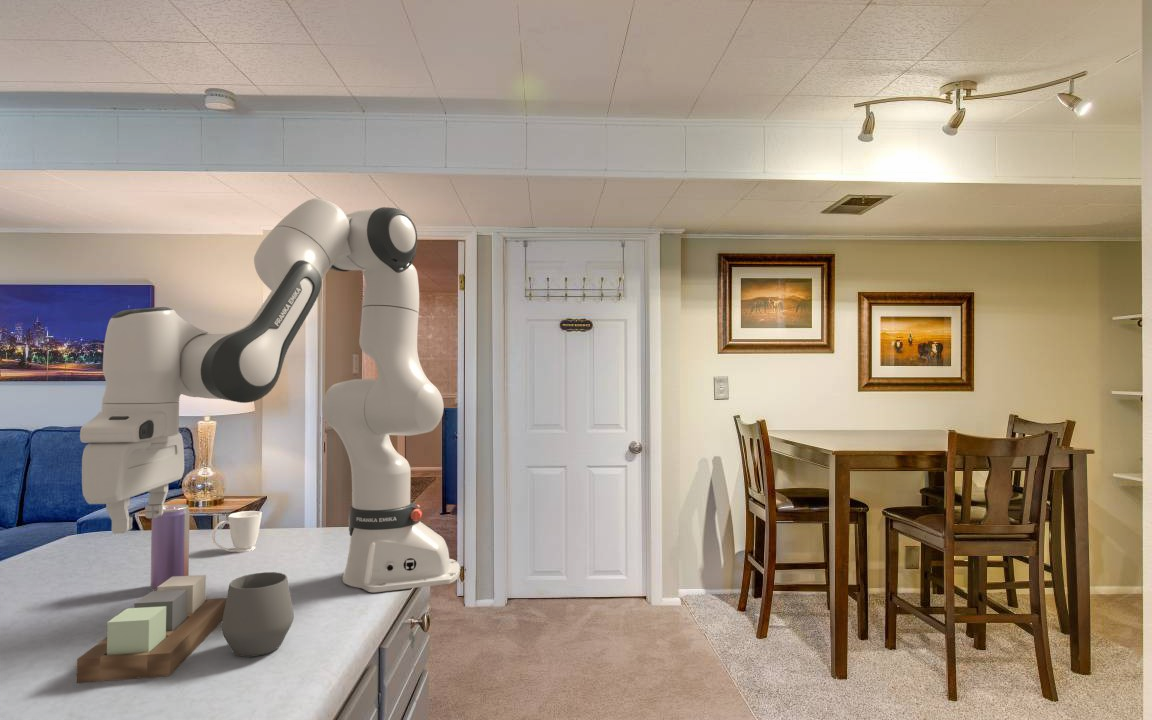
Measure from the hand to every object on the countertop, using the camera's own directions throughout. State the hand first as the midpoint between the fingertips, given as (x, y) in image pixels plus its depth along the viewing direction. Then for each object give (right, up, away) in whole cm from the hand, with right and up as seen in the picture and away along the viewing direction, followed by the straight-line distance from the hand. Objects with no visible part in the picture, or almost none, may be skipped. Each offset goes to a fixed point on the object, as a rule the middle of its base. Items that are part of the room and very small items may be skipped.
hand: (138, 524), depth 87 cm
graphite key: (-1, -17, +7) cm, 18 cm away
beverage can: (-16, -20, +31) cm, 40 cm away
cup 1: (-16, -21, +56) cm, 61 cm away
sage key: (0, -17, 0) cm, 17 cm away
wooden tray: (-1, -20, +7) cm, 21 cm away
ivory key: (-2, -17, +13) cm, 22 cm away
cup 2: (+14, -20, +6) cm, 25 cm away
